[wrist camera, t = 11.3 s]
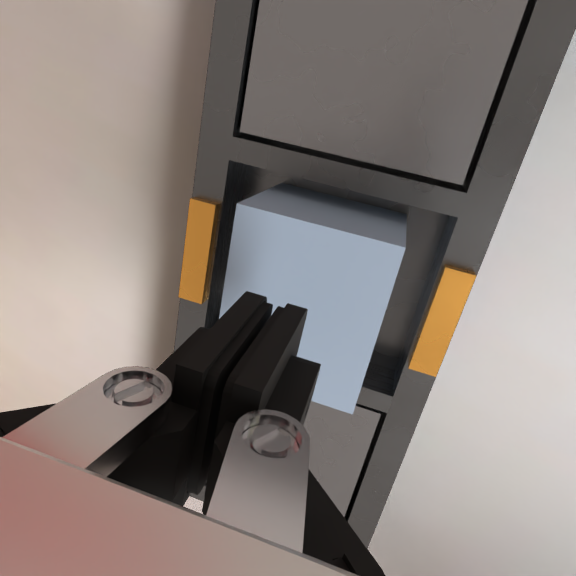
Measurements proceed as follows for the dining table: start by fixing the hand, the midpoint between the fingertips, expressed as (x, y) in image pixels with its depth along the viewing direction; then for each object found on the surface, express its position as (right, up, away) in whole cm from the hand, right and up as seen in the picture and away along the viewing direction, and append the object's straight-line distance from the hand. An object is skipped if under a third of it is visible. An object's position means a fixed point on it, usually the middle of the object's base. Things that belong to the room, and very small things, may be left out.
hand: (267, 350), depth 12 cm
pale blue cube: (+2, +3, +7) cm, 7 cm away
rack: (+2, +3, +7) cm, 8 cm away
